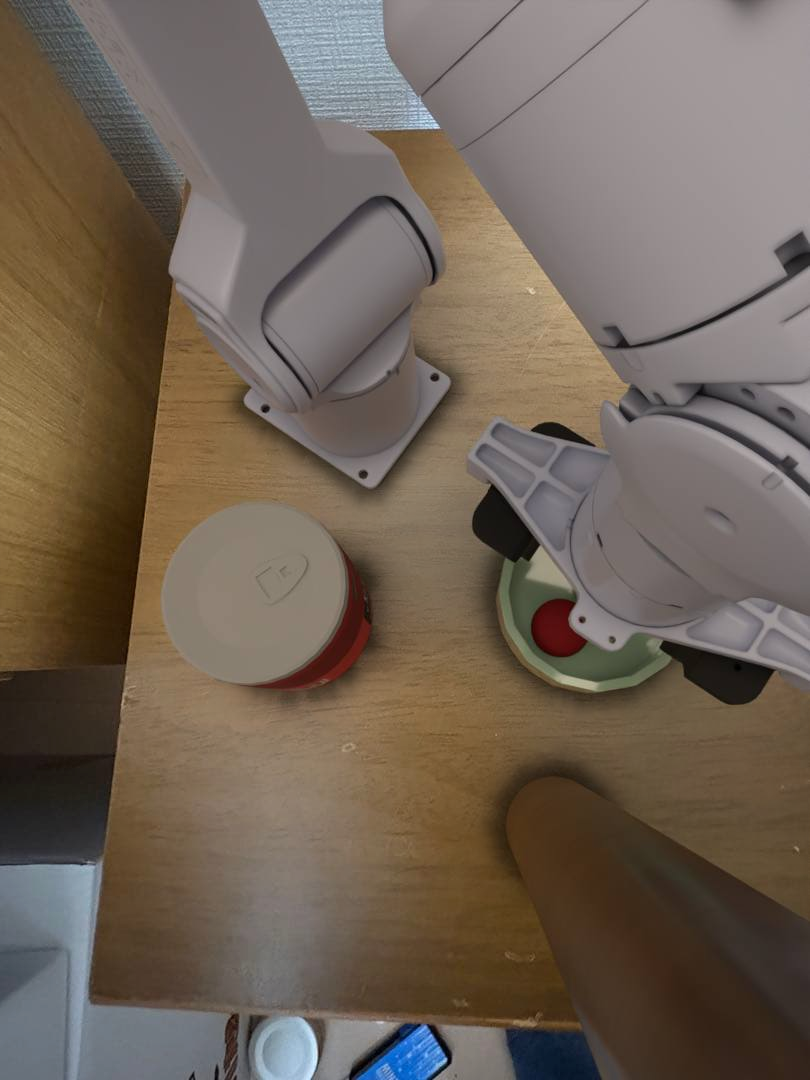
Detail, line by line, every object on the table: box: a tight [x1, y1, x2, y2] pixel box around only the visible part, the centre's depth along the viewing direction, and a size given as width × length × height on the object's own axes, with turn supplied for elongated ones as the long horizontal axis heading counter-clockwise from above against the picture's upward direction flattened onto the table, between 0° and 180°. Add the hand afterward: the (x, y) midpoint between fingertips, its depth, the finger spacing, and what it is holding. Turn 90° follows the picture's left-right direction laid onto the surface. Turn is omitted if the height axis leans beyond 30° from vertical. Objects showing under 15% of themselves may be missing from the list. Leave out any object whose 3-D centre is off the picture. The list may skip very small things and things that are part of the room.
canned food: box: [160, 500, 373, 692], centre depth 38 cm, size 8×8×11 cm
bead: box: [531, 599, 588, 658], centre depth 40 cm, size 3×3×3 cm
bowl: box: [495, 545, 673, 694], centre depth 41 cm, size 9×9×4 cm
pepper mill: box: [505, 775, 810, 1080], centre depth 21 cm, size 5×5×40 cm
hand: (604, 585), depth 36 cm, fingers open, 7 cm apart
